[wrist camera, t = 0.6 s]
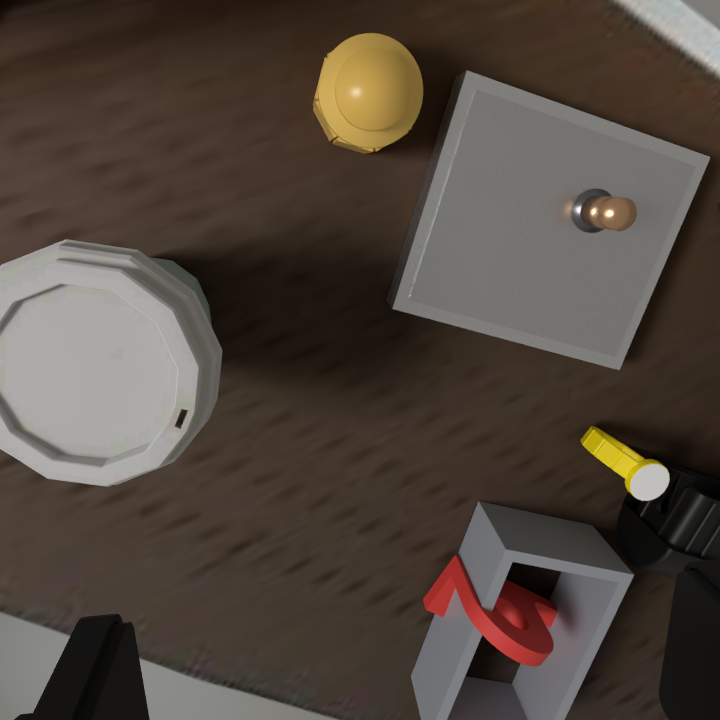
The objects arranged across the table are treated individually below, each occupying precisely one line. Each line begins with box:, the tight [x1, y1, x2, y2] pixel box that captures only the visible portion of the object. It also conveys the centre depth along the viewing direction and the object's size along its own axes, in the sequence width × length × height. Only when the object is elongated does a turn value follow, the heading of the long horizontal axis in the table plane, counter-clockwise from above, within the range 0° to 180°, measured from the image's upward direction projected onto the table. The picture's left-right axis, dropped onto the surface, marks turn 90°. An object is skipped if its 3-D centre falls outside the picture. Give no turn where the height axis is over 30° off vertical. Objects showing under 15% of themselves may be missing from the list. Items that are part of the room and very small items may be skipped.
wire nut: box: [312, 33, 423, 154], centre depth 33 cm, size 5×5×6 cm
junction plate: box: [386, 71, 710, 370], centre depth 36 cm, size 16×14×6 cm
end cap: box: [617, 457, 720, 579], centre depth 44 cm, size 10×7×7 cm
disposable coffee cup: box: [0, 239, 223, 487], centre depth 31 cm, size 11×11×15 cm
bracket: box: [423, 555, 558, 667], centre depth 43 cm, size 12×4×8 cm, turn 58°
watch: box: [581, 426, 670, 501], centre depth 42 cm, size 6×3×6 cm, turn 58°
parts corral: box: [411, 501, 634, 720], centre depth 45 cm, size 10×17×6 cm, turn 164°
